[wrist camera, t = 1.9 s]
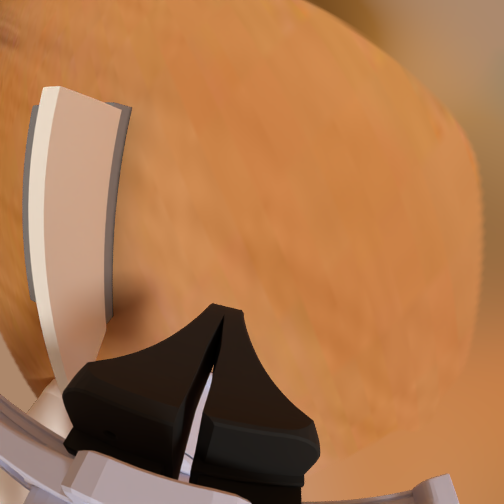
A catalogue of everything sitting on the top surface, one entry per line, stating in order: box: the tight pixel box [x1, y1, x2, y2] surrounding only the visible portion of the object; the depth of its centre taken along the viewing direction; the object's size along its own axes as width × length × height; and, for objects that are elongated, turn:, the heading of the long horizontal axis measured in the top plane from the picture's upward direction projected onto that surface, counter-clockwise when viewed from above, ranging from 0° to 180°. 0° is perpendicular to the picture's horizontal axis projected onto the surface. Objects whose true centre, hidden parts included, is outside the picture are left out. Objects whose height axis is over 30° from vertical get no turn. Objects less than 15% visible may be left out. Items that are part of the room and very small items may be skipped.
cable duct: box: [23, 102, 132, 324], centre depth 19 cm, size 18×9×3 cm, turn 167°
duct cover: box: [28, 86, 122, 395], centre depth 13 cm, size 17×9×1 cm
